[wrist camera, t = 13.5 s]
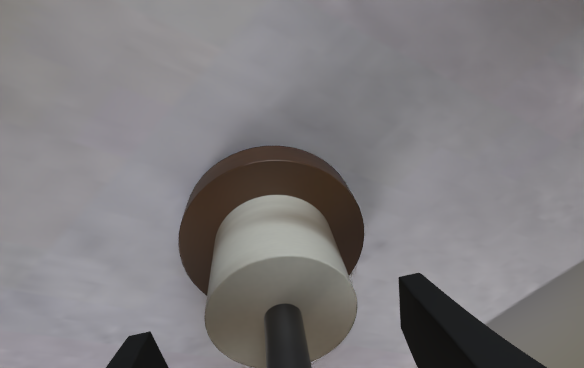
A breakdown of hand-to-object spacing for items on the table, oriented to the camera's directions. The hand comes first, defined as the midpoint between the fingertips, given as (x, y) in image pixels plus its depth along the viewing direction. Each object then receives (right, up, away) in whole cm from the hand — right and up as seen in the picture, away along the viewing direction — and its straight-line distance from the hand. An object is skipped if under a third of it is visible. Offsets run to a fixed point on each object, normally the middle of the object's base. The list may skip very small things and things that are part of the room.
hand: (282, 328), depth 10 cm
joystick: (-1, +3, -1) cm, 3 cm away
